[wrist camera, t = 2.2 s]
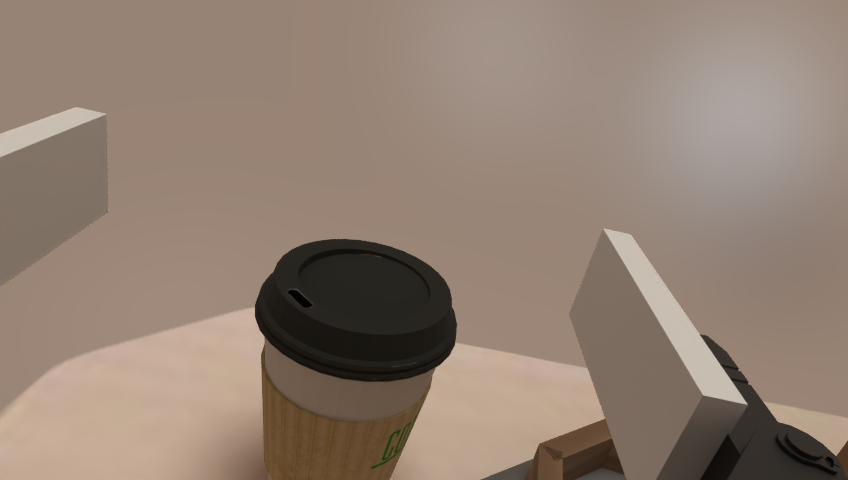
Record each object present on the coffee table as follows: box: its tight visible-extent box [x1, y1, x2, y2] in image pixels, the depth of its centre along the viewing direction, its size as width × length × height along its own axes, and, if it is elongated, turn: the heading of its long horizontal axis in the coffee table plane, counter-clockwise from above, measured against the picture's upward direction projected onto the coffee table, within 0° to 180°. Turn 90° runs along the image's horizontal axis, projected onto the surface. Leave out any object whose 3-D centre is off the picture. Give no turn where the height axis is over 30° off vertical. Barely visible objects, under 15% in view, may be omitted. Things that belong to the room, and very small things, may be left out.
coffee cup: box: [255, 239, 457, 480], centre depth 30 cm, size 10×10×15 cm
